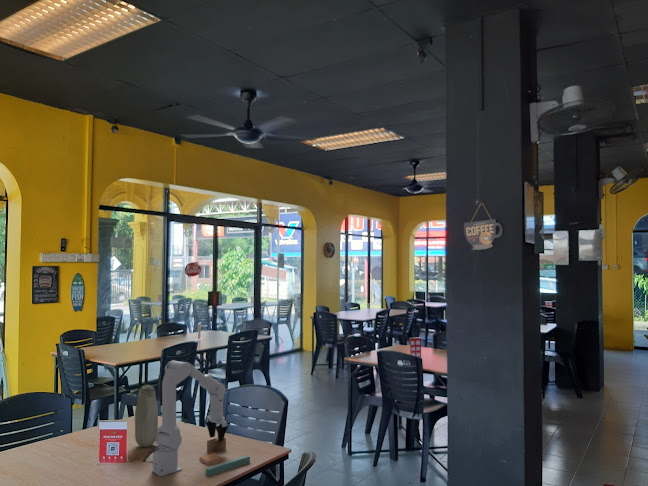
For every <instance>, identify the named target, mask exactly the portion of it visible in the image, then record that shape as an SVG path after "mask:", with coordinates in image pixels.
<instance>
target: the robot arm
mask: <svg viewBox="0 0 648 486" xmlns="http://www.w3.org/2000/svg"><path fill="white" fill-rule="evenodd" d="M188 377H191V378H192V379H195V380H196V381H197V382H198V384H199V386H200V387H201V388H203V389H204V390H206V391H207V393H208V395H210V396H209V397H210V398H209V399H210V400H209V401H210V402H209V403H210V406H209V409H210V411H209V413H210V414H208V415H206V420H207V421H205V423H204V424H205V426H206V428H207V431H208V435H209V438H214V437H215V436H216V432H217V438H218V441H219V442H221V441H223V440H224V438H225V436H226V432H227V430H228V428H229V425H228V422H227V421H226V417H225V416H224V398H225V394H226V391H227V388H226V386H225V384H224V383H222V382H219V380H218V379H216V378H213V377H212V374H210V373H208V374H206V373H205V374H204V373H202V372H201V371H200V370H198V369H197V367H195V366H194V364H191V362H187V361H185V362H184V361H179V360H175V359H172V360H170V361H168V363H167V364H166V365H165V367H164V375H163V379H162V381H161V384H162V385H161V391H162V393H161V396H162V397H161V398H162V399H161V404H162V405H161V408H162V410H161V412H162V413H161V414H162V415H161V417H162V418H161V425H160V426H159V427H158V433H157V436H156V441H155V443H156V445H157V446H159V448H160V449H159V450H158V451H156V452H154V453H153V462H152V469H151V472H153V473H154V474H155V475H158V476H159V477H163V476H166V475H169V474H173V473H176V472H179V471H181V470H182V468H181V467H180V466H178V461H179V460H178V459H179V456H178V455H179V454H178V453H179V452H178V450H179V448H180V446H181V444H182V441H183V438H182V435H181V429H180V427H179V426H178V425H177V386H178V385H179V384H180V383H181V382H183V381H184V380H186V378H188Z"/></svg>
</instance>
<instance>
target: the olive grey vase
mask: <svg viewBox="0 0 648 486" xmlns="http://www.w3.org/2000/svg"><path fill="white" fill-rule="evenodd" d="M137 395H138V396H137V401H136V402H137V403H136V407H135V412H134V437H135V438H134V439H135V442H136V444H137V445H138V446H139V447H141V448H147V447H151V446H152V445H154V443H156V436H157V433H158V428H159V427H158V426H159V423H158V422H159V408H158V403H157V398H156V397H157V396H156V390H155V387H154V386H153V385H152V384H145V385H142V386H141V387H140V388H139V389H138V393H137Z"/></svg>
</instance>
